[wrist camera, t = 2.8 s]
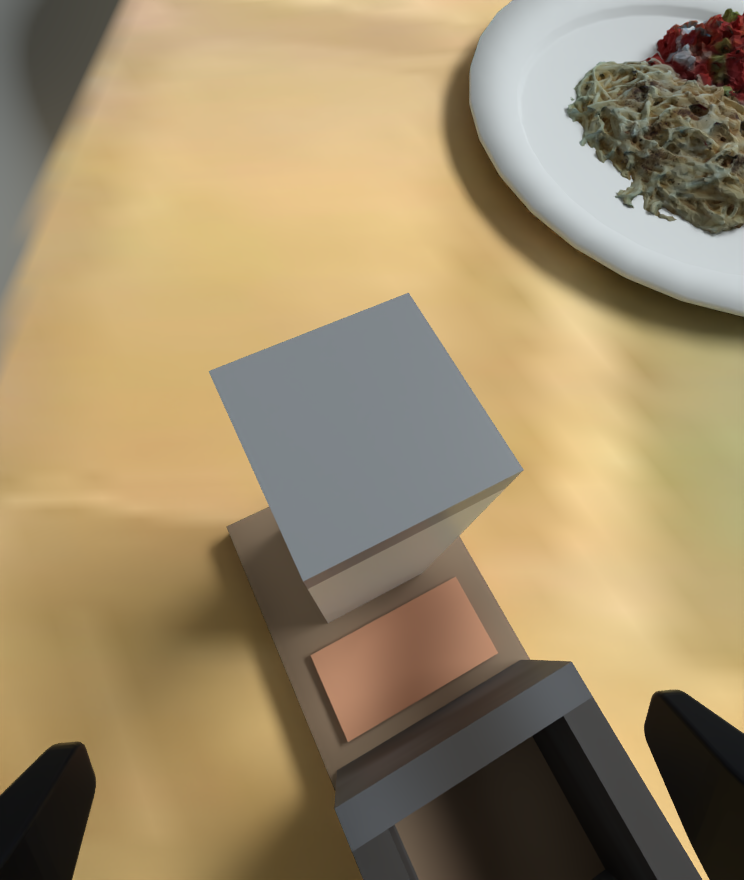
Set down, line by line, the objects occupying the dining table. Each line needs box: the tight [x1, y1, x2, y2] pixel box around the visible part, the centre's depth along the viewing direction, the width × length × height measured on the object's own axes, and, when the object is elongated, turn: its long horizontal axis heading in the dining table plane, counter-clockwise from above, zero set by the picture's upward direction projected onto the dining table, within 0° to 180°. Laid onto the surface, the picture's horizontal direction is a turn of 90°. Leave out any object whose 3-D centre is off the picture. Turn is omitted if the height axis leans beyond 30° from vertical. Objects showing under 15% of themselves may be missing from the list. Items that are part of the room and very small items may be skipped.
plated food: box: [469, 0, 744, 317], centre depth 30 cm, size 30×30×3 cm
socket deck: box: [227, 507, 702, 880], centre depth 16 cm, size 8×17×6 cm, turn 27°
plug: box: [209, 293, 523, 623], centre depth 14 cm, size 4×4×12 cm
